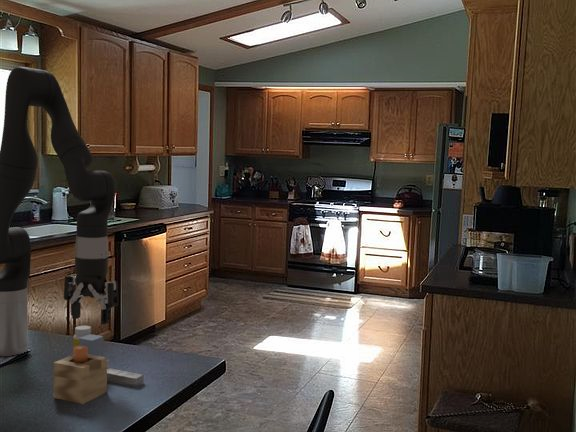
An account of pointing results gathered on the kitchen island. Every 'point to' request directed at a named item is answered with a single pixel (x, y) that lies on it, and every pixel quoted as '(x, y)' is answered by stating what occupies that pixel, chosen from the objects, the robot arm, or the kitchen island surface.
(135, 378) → the rail
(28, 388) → the kitchen island surface
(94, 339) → the carriage
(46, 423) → the kitchen island surface
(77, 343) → the supplement bottle
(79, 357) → the brown egg
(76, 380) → the open wooden box
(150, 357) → the kitchen island surface
